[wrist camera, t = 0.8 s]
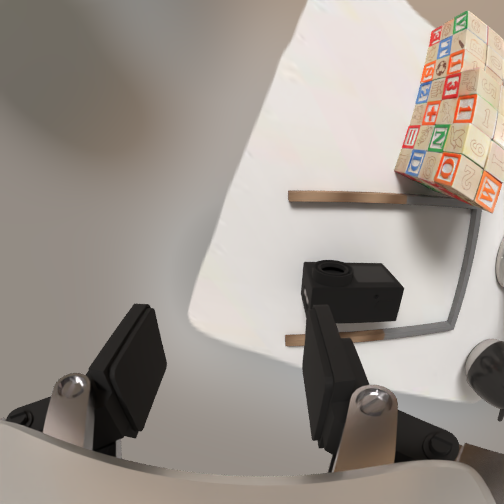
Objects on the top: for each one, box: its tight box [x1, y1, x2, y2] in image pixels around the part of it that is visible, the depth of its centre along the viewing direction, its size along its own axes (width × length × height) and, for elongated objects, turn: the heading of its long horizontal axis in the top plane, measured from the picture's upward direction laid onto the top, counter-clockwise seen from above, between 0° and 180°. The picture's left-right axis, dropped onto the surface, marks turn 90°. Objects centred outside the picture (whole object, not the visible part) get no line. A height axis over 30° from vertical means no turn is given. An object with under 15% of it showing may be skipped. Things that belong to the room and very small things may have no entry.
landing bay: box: [383, 194, 482, 339], centre depth 34 cm, size 13×20×1 cm, turn 1°
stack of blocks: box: [394, 11, 504, 213], centre depth 21 cm, size 21×6×12 cm, turn 163°
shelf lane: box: [285, 191, 407, 346], centre depth 34 cm, size 14×20×1 cm
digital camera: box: [301, 260, 404, 323], centre depth 32 cm, size 10×5×7 cm, turn 89°
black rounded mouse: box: [465, 339, 504, 421], centre depth 33 cm, size 10×10×15 cm
